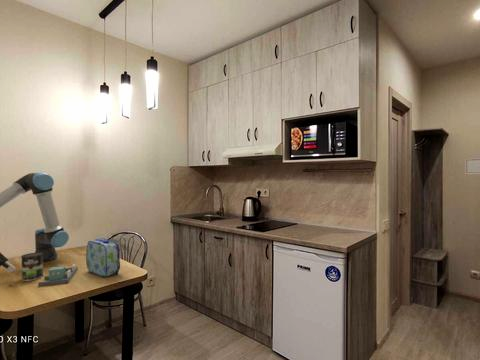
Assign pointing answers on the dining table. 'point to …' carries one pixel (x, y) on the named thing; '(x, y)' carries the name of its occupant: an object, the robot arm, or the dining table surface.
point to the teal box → (57, 273)
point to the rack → (68, 277)
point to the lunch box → (103, 257)
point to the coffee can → (32, 266)
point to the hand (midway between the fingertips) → (13, 270)
